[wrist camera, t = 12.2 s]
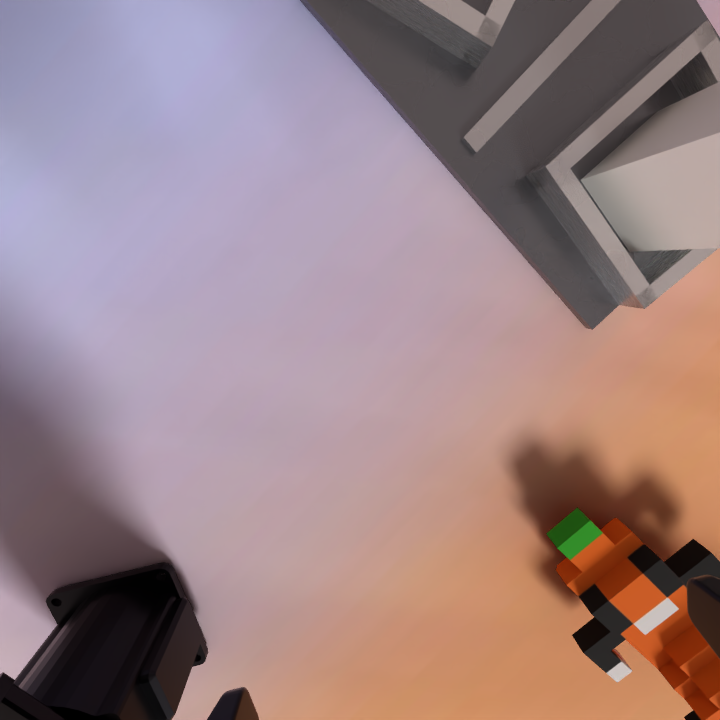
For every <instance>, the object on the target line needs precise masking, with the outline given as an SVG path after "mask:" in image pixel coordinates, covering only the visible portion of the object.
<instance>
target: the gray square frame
mask: <svg viewBox="0 0 720 720" xmlns="http://www.w3.org/2000/svg"><path fill="white" fill-rule="evenodd" d="M367 1H368V2H370V3H371V4H373V5H375V6H376V7H378V8H379V9H381V10H383V11H384V12H386V13H388V14H389V15H391V16H392V17H394V18H396V19H397V20H399V21H400V22H402V23H404V24H405V25H407V26H409V27H410V28H412V29H413V30H415V31H417V32H418V33H420V34H422V35H423V36H425V37H426V38H428V39H430V40H431V41H433V42H434V43H436V44H438V45H439V46H441V47H443V48H444V49H446V50H447V51H449V52H451V53H452V54H454V55H455V56H457V57H459V58H460V59H462V60H464V61H465V62H467V63H468V64H470V65H472V66H473V67H475V68H476V69H477V68H478V66H479V65H480V63H481V62H482V61H483V59H484V58H485V57H486V55H487V54H488V52H489V51H490V50H491V48H492V47H493V45H494V43H495V41H496V39H497V36H498V34H499V32H500V30H501V28H502V26H503V24H504V22H505V20H506V18H507V16H508V14H509V12H510V10H511V8H512V5H513V3H514V1H515V0H489V2H488V5H487V7H486V9H485V11H484V13H483V14H482V13H480V12H479V11H477V10H476V9H474V8H472V7H471V6H469V5H468V4H466V3H465V2H463V1H462V0H367Z"/></svg>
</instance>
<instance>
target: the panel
mask: <svg viewBox="0 0 720 720" xmlns="http://www.w3.org/2000/svg"><path fill="white" fill-rule="evenodd" d="M300 1H301V2H302V3H303V4H304V5H305V7H306V8H307V9H308V10H309V11H310V12H311V13H312V15H313V16H314V17H315V18H316V19H317V20H318V21H319V23H320V24H321V25H322V26H323V27H324V28H325V29H326V31H327V32H328V33H329V34H330V35H331V36H332V37H333V39H334V40H335V41H336V42H337V43H338V44H339V45H340V47H341V48H342V49H343V50H344V51H345V52H346V53H347V55H348V56H349V57H350V58H351V59H352V60H353V62H354V63H355V64H356V65H357V66H358V67H359V68H360V70H361V71H362V72H363V73H364V74H365V75H366V76H367V78H368V79H369V80H370V81H371V82H372V83H373V84H374V86H375V87H376V88H377V89H378V90H379V91H380V92H381V94H382V95H383V96H384V97H385V98H386V99H387V100H388V102H389V103H390V104H391V105H392V106H393V107H394V108H395V110H396V111H397V112H398V113H399V114H400V115H401V117H402V118H403V119H404V120H405V121H406V122H407V123H408V125H409V126H410V127H411V128H412V129H413V130H414V131H415V133H416V134H417V135H418V136H419V137H420V138H421V139H422V141H423V142H424V143H425V144H426V145H427V146H428V147H429V149H430V150H431V151H432V152H433V153H434V154H435V155H436V157H437V158H438V159H439V160H440V161H441V162H442V163H443V165H444V166H445V167H446V168H447V169H448V170H449V172H450V173H451V174H452V175H453V176H454V177H455V178H456V180H457V181H458V182H459V183H460V184H461V185H462V186H463V188H464V189H465V190H466V191H467V192H468V193H469V194H470V196H471V197H472V198H473V199H474V200H475V201H476V202H477V204H478V205H479V206H480V207H481V208H482V209H483V210H484V212H485V213H486V214H487V215H488V216H489V217H490V218H491V220H492V221H493V222H494V223H495V224H496V225H497V227H498V228H499V229H500V230H501V231H502V232H503V233H504V235H505V236H506V237H507V238H508V239H509V240H510V241H511V243H512V244H513V245H514V246H515V247H516V248H517V249H518V251H519V252H520V253H521V254H522V255H523V256H524V257H525V259H526V260H527V261H528V262H529V263H530V264H531V265H532V267H533V268H534V269H535V270H536V271H537V272H538V273H539V275H540V276H541V277H542V278H543V279H544V280H545V282H546V283H547V284H548V285H549V286H550V287H551V288H552V290H553V291H554V292H555V293H556V294H557V295H558V296H559V298H560V299H561V300H562V301H563V302H564V303H565V304H566V306H567V307H568V308H569V309H570V310H571V311H572V312H573V314H574V315H575V316H576V317H577V318H578V319H579V320H580V322H581V323H582V324H583V325H584V326H585V327H586V328H589V329H592V330H593V329H594V328H595V327H596V326H597V325H598V324H599V323H600V322H601V321H602V320H603V319H604V318H605V317H607V316H608V315H609V314H610V313H611V312H612V311H613V310H614V309H615V308H616V307H617V306H618V304H617V302H616V301H615V299H614V298H613V297H612V295H611V294H610V293H609V291H608V290H607V288H606V287H605V286H604V284H603V283H602V281H601V280H600V279H599V277H598V276H597V274H596V273H595V272H594V270H593V269H592V267H591V266H590V265H589V263H588V262H587V260H586V259H585V258H584V256H583V255H582V253H581V252H580V251H579V249H578V248H577V246H576V245H575V244H574V242H573V241H572V239H571V238H570V237H569V235H568V234H567V232H566V231H565V230H564V228H563V227H562V225H561V224H560V223H559V221H558V220H557V218H556V217H555V216H554V214H553V213H552V211H551V210H550V209H549V207H548V206H547V204H546V203H545V202H544V200H543V199H542V197H541V196H540V195H539V193H538V192H537V190H536V189H535V188H534V186H533V185H532V183H531V182H530V181H529V179H528V178H527V176H526V175H527V174H528V173H530V172H531V171H532V170H533V169H534V168H535V167H536V166H537V165H538V164H539V163H541V162H542V161H543V160H544V159H545V158H546V157H547V156H548V155H549V154H550V153H551V152H553V151H554V150H555V149H556V148H557V147H558V146H559V145H560V144H561V143H562V142H564V141H565V140H566V139H567V138H568V137H569V136H570V135H571V134H572V133H573V132H575V131H576V130H577V129H578V128H579V127H580V126H581V125H582V124H583V123H584V122H586V121H587V120H588V119H589V118H590V117H591V116H592V115H593V114H594V113H595V112H597V111H598V110H599V109H600V108H601V107H602V106H603V105H604V104H605V103H606V102H608V101H609V100H610V99H611V98H612V97H613V96H614V95H615V94H616V93H617V92H618V91H620V90H621V89H622V88H623V87H624V86H625V85H626V84H627V83H628V82H629V81H631V80H632V79H633V78H634V77H635V76H636V75H637V74H638V73H639V72H640V71H642V70H643V69H644V68H645V67H646V66H647V65H648V64H649V63H650V62H651V61H653V60H654V59H655V58H656V57H657V56H658V55H659V54H660V53H661V52H662V51H664V50H665V49H666V48H667V47H668V46H669V45H670V44H671V43H673V42H674V41H676V40H677V39H679V38H680V37H682V36H683V35H685V34H686V33H688V32H689V31H691V30H693V29H694V28H696V27H697V26H699V25H700V24H702V23H703V22H705V21H706V20H708V18H707V17H706V15H705V13H704V12H703V10H702V9H701V7H700V6H699V4H698V2H697V1H696V0H515V1H514V3H513V5H512V8H511V10H510V12H509V14H508V16H507V18H506V20H505V22H504V24H503V26H502V28H501V30H500V32H499V34H498V36H497V39H496V41H495V43H494V45H493V47H492V48H491V50H490V51H489V52H488V54H487V55H486V57H485V58H484V59H483V61H482V62H481V63H480V65H479V66H478V68H477V69H476V68H475V67H473V66H472V65H470V64H468V63H467V62H465V61H464V60H462V59H460V58H459V57H457V56H455V55H454V54H452V53H451V52H449V51H447V50H446V49H444V48H443V47H441V46H439V45H438V44H436V43H434V42H433V41H431V40H430V39H428V38H426V37H425V36H423V35H422V34H420V33H418V32H417V31H415V30H413V29H412V28H410V27H409V26H407V25H405V24H404V23H402V22H400V21H399V20H397V19H396V18H394V17H392V16H391V15H389V14H388V13H386V12H384V11H383V10H381V9H379V8H378V7H376V6H375V5H373V4H371V3H370V2H368V1H367V0H300ZM462 1H463V2H465V3H466V4H468V5H469V6H471V7H472V8H474V9H476V10H477V11H479V12H480V13H482V14H483V13H484V11H485V9H486V7H487V5H488V2H489V0H462ZM708 21H709V20H708ZM709 23H710V21H709ZM710 25H711V23H710ZM711 26H712V25H711ZM712 28H713V26H712ZM713 30H714V32H715V34H716V36H717V38H718V39H719V41H720V37H719V36H718V34H717V33H716V31H715V29H714V28H713ZM680 100H682V99H681V97H680V96H679V94H678V92H677V91H676V89H675V87H674V85H673V84H672V82H671V80H670V79H669V80H668V81H667V82H666V83H665V84H664V85H663V86H661V87H660V88H659V89H658V90H657V91H656V92H655V93H654V94H653V95H651V96H650V97H649V98H648V99H647V100H646V101H645V102H644V103H642V104H641V105H640V106H639V107H638V108H637V109H636V110H635V111H634V112H632V113H631V114H630V115H629V116H628V117H627V118H626V119H625V120H624V121H622V122H621V123H620V124H619V125H618V126H617V127H616V128H615V129H614V130H612V131H611V132H610V133H609V134H608V135H607V136H606V137H605V138H604V139H602V140H601V141H600V142H599V143H598V144H597V145H596V146H595V147H594V148H592V149H591V150H590V151H589V152H588V153H587V154H586V155H585V156H583V157H582V158H581V159H580V160H579V161H578V162H577V163H576V164H575V165H573V166H572V167H571V168H570V169H571V170H572V172H573V173H574V175H575V176H576V178H577V179H578V181H579V182H580V183H581V185H582V186H583V188H584V189H585V191H586V192H587V194H588V195H589V197H590V198H591V200H592V201H593V203H594V204H595V205H596V207H597V208H598V210H599V211H600V213H601V214H602V216H603V217H604V219H605V220H606V222H607V223H608V225H609V226H610V227H611V229H612V230H613V232H614V233H615V235H616V236H617V238H618V239H619V241H620V242H621V244H622V245H623V247H624V248H625V249H626V251H627V252H628V254H629V255H630V257H631V258H632V260H633V261H634V263H635V264H636V266H637V267H638V269H640V268H642V267H643V266H644V265H645V264H646V263H648V262H649V261H650V260H651V259H652V258H654V257H655V256H656V255H657V254H658V253H659V252H661V251H662V250H661V251H637V252H629V250H628V249H627V247H626V246H625V245H624V243H623V242H622V240H621V239H620V237H619V236H618V234H617V233H616V231H615V230H614V228H613V227H612V226H611V224H610V223H609V221H608V220H607V218H606V217H605V215H604V214H603V212H602V211H601V209H600V208H599V207H598V205H597V204H596V202H595V201H594V199H593V198H592V196H591V195H590V193H589V192H588V190H587V189H586V188H585V186H584V185H583V183H582V182H581V179H582V178H583V177H584V176H586V175H587V174H588V173H589V172H590V171H591V170H592V169H593V168H595V167H596V166H597V165H598V164H599V163H600V162H601V161H602V160H603V159H605V158H606V157H607V156H608V155H609V154H610V153H611V152H612V151H614V150H615V149H616V148H617V147H618V146H619V145H620V144H621V143H622V142H624V141H625V140H626V139H627V138H628V137H629V136H630V135H631V134H633V133H634V132H635V131H636V130H637V129H638V128H639V127H640V126H642V125H643V124H644V123H645V122H646V121H647V120H648V119H649V118H650V117H652V116H653V115H654V114H655V113H656V112H657V111H659V110H661V109H663V108H665V107H667V106H669V105H671V104H674V103H676V102H678V101H680Z"/></svg>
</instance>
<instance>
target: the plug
mask: <svg viewBox="0 0 720 720" xmlns="http://www.w3.org/2000/svg"><path fill="white" fill-rule="evenodd" d="M581 182H582V183H583V185H584V186H585V188H586V189H587V190H588V192H589V193H590V195H591V196H592V198H593V199H594V201H595V202H596V204H597V205H598V207H599V208H600V209H601V211H602V212H603V214H604V215H605V217H606V218H607V220H608V221H609V223H610V224H611V226H612V227H613V228H614V230H615V231H616V233H617V234H618V236H619V237H620V239H621V240H622V242H623V243H624V245H625V246H626V247H627V249H628V250H629V252H637V251H661V250H686V249H710V248H720V82H718V83H716V84H714V85H712V86H709V87H707V88H705V89H703V90H701V91H699V92H697V93H695V94H693V95H690V96H688V97H686V98H684V99H682V100H680V101H678V102H676V103H674V104H671V105H669V106H667V107H665V108H663V109H661V110H659V111H657V112H656V113H655V114H654V115H653V116H652V117H650V118H649V119H648V120H647V121H646V122H645V123H644V124H643V125H642V126H640V127H639V128H638V129H637V130H636V131H635V132H634V133H633V134H631V135H630V136H629V137H628V138H627V139H626V140H625V141H624V142H622V143H621V144H620V145H619V146H618V147H617V148H616V149H615V150H614V151H612V152H611V153H610V154H609V155H608V156H607V157H606V158H605V159H603V160H602V161H601V162H600V163H599V164H598V165H597V166H596V167H595V168H593V169H592V170H591V171H590V172H589V173H588V174H587V175H586V176H584V177H583V178H582V179H581Z"/></svg>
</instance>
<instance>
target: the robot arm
mask: <svg viewBox="0 0 720 720" xmlns="http://www.w3.org/2000/svg"><path fill="white" fill-rule="evenodd" d="M161 573H164V574H165V575H162V574H161ZM46 603H47V606H48V608H49V609H50V611H51V613H52V615H53V617H54V619H55V621H56V622H57V624H58V625H57V626H56V627H55V629H54V630H53V631H52V633H51V634H50V635H49V636H48V638H47V639H46V640H45V642H44V643H43V644H42V646H41V647H40V648H39V649H38V651H37V652H36V653H35V655H34V656H33V657H32V658H31V660H30V661H29V662H28V664H27V665H26V666H25V668H24V669H23V670H22V671H21V673H20V674H19V675H18V677H17V678H16V679H15V680H14V679H12V678H11V677H9V676H8V675H6V674H5V673H1V674H0V720H172V718H173V716H174V715H175V713H176V711H177V708H178V705H179V702H180V699H181V697H182V694H183V691H184V688H185V685H186V682H187V680H188V677H189V674H190V671H191V668H192V667H193V666H197V665H201V664H203V663H204V662H205V660H206V657H207V654H208V648H207V646H206V644H205V641H204V639H203V633H202V631H201V629H200V626H199V624H198V622H197V619H196V617H195V615H194V612H193V610H192V607H191V605H190V603H189V601H188V600H187V599H186V597H185V594H184V592H183V590H182V587H181V585H180V583H179V580H178V578H177V576H176V573H175V571H174V569H173V567H172V566H171V565H170V564H167V563H159V564H155V565H151V566H147V567H143V568H139V569H135V570H131V571H127V572H122V573H118V574H114V575H110V576H106V577H102V578H98V579H94V580H90V581H86V582H82V583H78V584H74V585H69V586H65V587H61V588H57V589H55V590H54V591H53V592H52V593H51V594H50V595H49V597H48V598H47V600H46ZM687 610H688V614H689V617H690V619H691V621H692V623H693V624H694V626H695V627H696V628H697V630H698V631H699V632H700V634H701V635H702V636H703V638H704V639H705V640H706V642H707V643H708V644H709V646H710V647H711V648H712V650H713V651H714V652H715V653H716V655H717V656H718V657H719V659H720V579H719V578H717V577H714V576H711V575H703V576H699V577H694V578H691V579H689V580H688V581H687ZM207 720H259V718H258V714H257V712H256V709H255V707H254V704H253V702H252V699H251V697H250V694H249V692H248V690H247V689H246V688H244V687H241V688H237V689H233V690H229V691H227V692H225V693H224V694H223V695H222V697H221V698H220V700H219V701H218V703H217V705H216V706H215V708H214V709H213V711H212V712H211V714H210V716H209V717H208V719H207Z"/></svg>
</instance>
